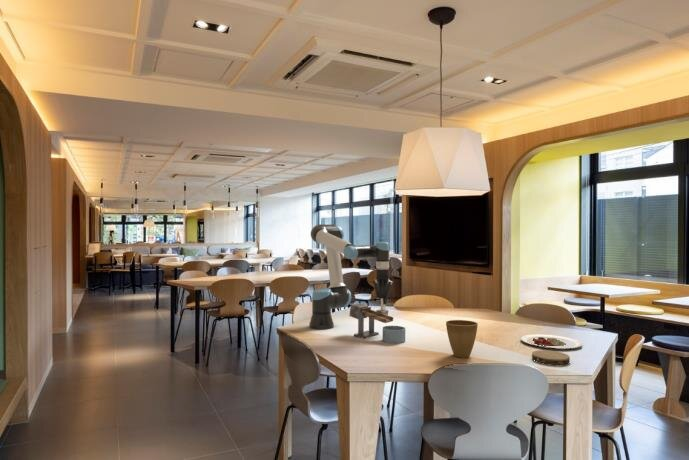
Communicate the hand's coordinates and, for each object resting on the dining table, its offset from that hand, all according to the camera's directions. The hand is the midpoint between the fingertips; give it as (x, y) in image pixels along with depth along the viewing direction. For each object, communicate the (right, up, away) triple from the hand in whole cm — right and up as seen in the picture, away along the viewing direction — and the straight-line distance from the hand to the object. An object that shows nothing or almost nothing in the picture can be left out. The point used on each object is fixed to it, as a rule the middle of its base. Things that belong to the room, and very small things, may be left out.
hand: (383, 309), depth 261 cm
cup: (+5, -15, -13) cm, 20 cm away
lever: (-5, -6, 0) cm, 8 cm away
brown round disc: (+74, -15, -49) cm, 90 cm away
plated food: (+88, -16, -17) cm, 91 cm away
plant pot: (+34, -15, -42) cm, 56 cm away
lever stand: (-10, -15, -1) cm, 18 cm away
